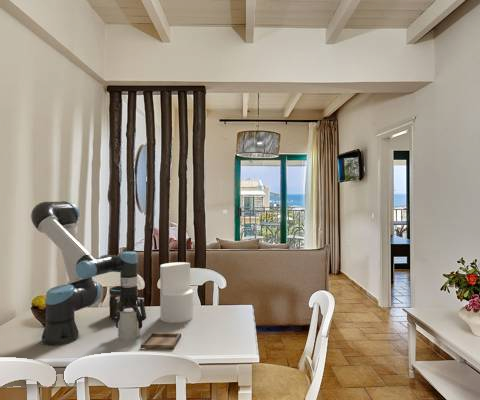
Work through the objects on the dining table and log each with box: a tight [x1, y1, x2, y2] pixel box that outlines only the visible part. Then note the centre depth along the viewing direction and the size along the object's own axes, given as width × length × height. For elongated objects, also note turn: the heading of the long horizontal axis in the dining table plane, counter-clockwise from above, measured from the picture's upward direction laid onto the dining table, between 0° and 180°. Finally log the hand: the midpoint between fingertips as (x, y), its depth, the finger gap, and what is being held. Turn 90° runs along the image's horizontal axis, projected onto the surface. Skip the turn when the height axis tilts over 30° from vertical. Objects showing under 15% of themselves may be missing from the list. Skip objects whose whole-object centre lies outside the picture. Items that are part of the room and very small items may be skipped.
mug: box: [108, 285, 132, 320], centre depth 195 cm, size 20×14×15 cm
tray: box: [140, 332, 182, 351], centre depth 160 cm, size 14×14×2 cm
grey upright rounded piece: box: [119, 308, 139, 341], centre depth 167 cm, size 8×8×12 cm
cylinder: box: [159, 261, 194, 324], centre depth 195 cm, size 17×17×28 cm
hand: (129, 335), depth 167 cm, fingers closed on grey upright rounded piece, 8 cm apart
